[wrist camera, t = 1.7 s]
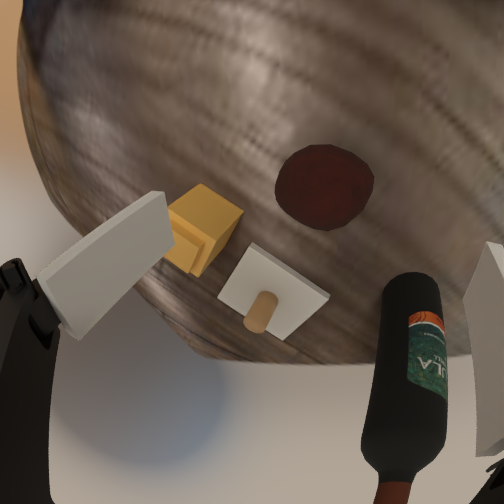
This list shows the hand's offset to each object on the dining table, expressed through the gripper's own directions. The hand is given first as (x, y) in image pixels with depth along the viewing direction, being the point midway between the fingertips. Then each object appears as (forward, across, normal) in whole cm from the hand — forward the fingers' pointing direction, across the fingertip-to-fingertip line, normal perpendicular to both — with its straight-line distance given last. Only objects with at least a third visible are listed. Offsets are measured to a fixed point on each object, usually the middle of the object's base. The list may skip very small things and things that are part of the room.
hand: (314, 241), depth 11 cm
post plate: (+20, -9, -22) cm, 31 cm away
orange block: (+19, -16, -11) cm, 28 cm away
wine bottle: (+20, +10, -18) cm, 28 cm away
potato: (+20, -2, -4) cm, 20 cm away
